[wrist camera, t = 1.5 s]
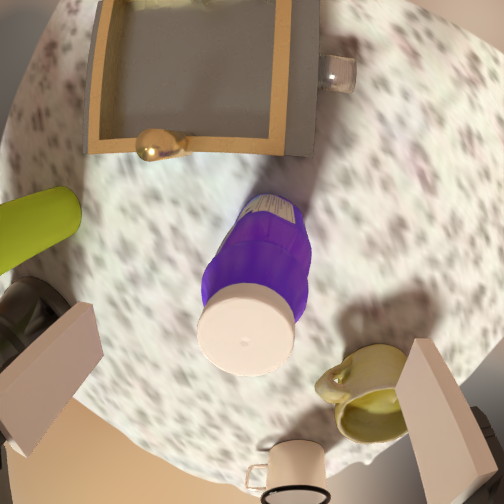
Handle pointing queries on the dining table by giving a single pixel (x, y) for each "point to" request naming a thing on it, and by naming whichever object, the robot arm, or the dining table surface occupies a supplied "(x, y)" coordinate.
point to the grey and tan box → (207, 77)
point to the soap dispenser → (36, 224)
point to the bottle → (256, 289)
